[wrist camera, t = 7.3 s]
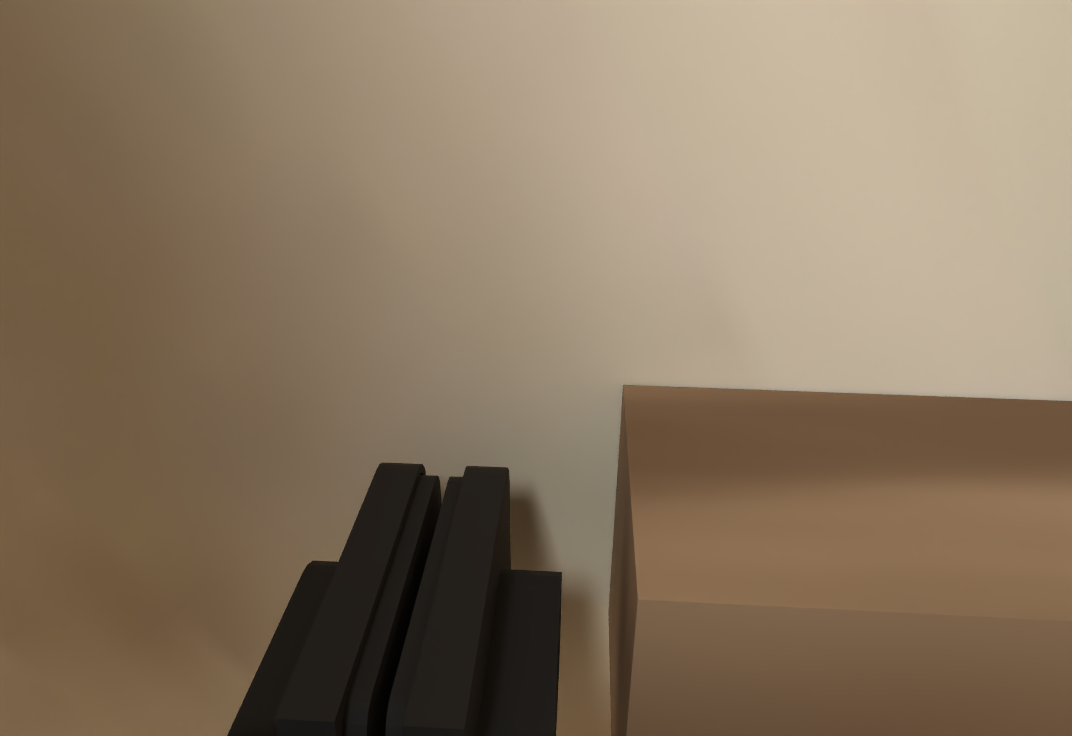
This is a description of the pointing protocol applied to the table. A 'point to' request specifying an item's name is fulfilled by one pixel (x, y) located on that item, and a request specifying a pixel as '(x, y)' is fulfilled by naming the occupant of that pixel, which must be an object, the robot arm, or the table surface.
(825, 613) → the t block
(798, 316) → the table surface
